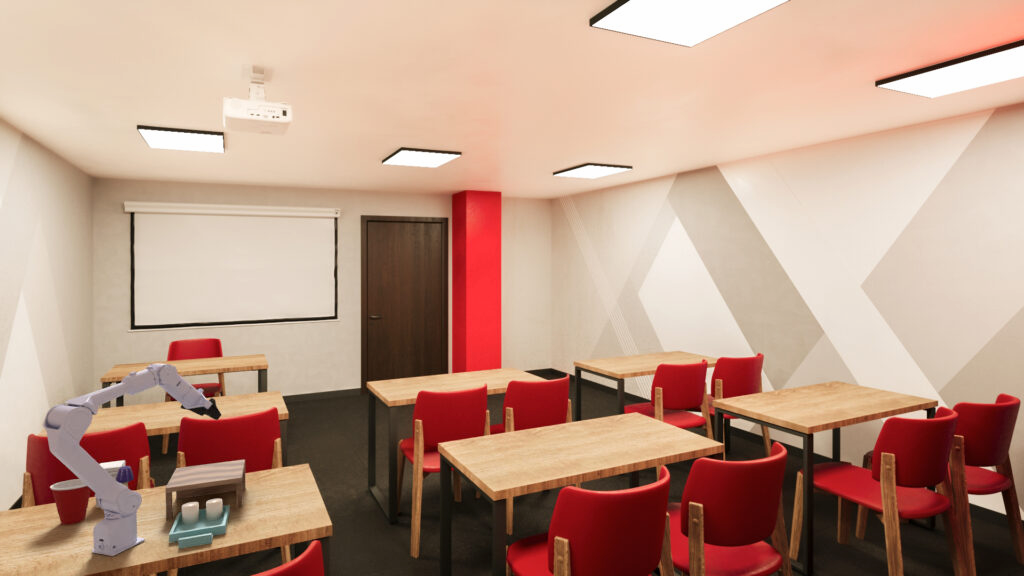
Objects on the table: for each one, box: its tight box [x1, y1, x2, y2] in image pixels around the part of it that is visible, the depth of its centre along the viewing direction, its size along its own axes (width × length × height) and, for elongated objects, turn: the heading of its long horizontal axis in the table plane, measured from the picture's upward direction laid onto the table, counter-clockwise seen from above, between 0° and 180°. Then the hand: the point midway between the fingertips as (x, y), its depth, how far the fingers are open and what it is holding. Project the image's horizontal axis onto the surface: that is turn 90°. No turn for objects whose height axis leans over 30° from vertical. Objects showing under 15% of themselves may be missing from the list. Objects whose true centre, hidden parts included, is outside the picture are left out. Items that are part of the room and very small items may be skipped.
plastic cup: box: [49, 478, 92, 526], centre depth 170 cm, size 11×11×12 cm
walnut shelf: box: [164, 459, 247, 521], centre depth 182 cm, size 20×21×10 cm
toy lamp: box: [115, 465, 135, 489], centre depth 169 cm, size 5×5×17 cm
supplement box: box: [95, 459, 127, 508], centre depth 184 cm, size 7×7×13 cm
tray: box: [168, 497, 231, 549], centre depth 162 cm, size 21×14×6 cm, turn 23°
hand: (211, 415), depth 178 cm, fingers open, 7 cm apart
